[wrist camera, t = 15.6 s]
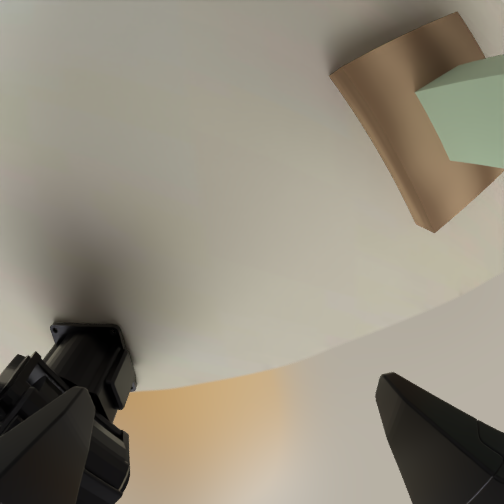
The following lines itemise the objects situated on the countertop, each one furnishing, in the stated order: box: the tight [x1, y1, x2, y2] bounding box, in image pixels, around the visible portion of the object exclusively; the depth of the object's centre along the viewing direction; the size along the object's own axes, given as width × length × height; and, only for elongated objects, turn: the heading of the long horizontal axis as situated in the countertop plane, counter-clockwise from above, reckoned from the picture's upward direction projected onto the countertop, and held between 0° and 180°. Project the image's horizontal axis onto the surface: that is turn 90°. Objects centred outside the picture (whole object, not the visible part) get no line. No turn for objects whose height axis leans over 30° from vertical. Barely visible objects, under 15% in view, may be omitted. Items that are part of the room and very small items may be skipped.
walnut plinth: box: [329, 12, 504, 233], centre depth 17 cm, size 12×12×2 cm
